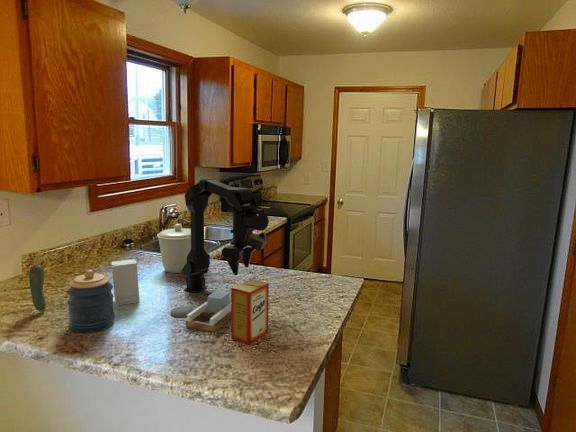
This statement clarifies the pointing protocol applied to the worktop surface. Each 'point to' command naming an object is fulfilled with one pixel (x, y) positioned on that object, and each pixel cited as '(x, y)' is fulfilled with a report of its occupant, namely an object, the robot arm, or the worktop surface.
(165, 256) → the canister
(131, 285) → the skincare box
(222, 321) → the channel base plate
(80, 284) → the canister
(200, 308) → the channel walls
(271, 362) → the worktop surface
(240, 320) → the baking soda box
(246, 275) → the worktop surface
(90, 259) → the worktop surface
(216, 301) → the block
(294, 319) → the worktop surface
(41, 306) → the vegetable
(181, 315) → the coaster
